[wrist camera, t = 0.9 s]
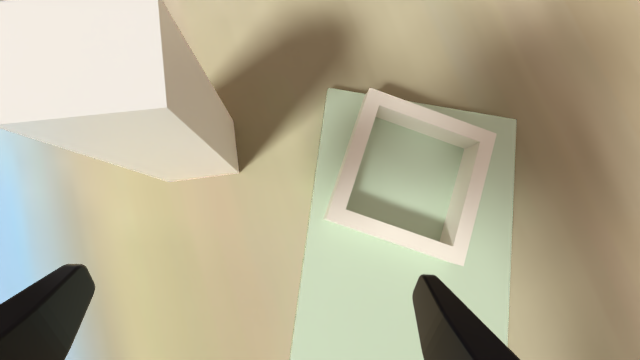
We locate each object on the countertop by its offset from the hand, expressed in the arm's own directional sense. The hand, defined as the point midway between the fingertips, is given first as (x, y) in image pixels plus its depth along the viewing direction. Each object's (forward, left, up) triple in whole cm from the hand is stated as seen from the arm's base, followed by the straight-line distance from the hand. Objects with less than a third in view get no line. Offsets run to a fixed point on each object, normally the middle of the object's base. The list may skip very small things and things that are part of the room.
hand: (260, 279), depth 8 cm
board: (+2, -9, -14) cm, 17 cm away
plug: (+6, +7, -14) cm, 16 cm away
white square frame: (+6, -8, -14) cm, 17 cm away
